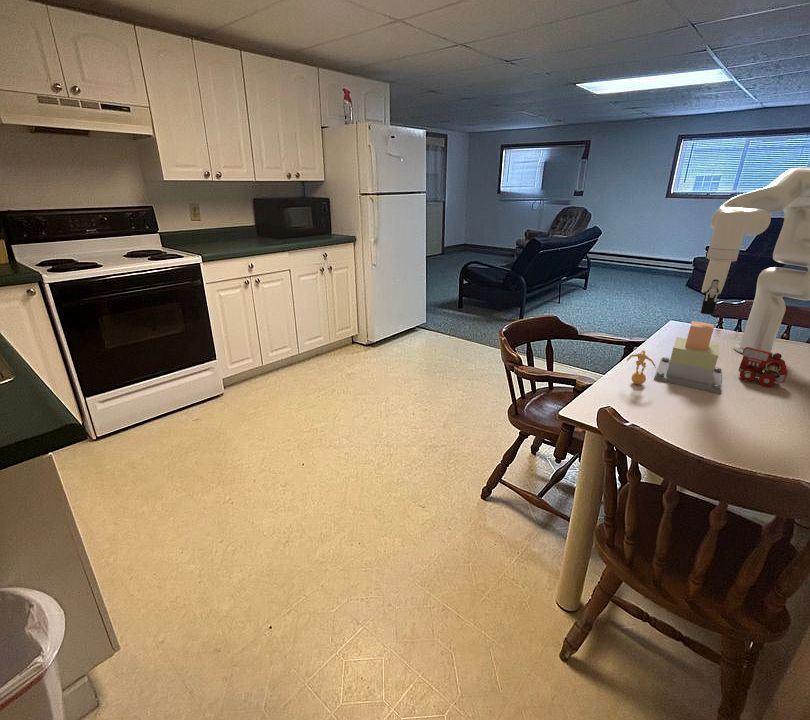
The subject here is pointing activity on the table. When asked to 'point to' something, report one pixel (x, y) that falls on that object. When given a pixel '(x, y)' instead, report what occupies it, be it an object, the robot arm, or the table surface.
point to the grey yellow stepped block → (691, 367)
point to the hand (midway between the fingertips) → (707, 310)
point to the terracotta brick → (699, 335)
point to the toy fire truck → (762, 367)
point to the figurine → (638, 376)
